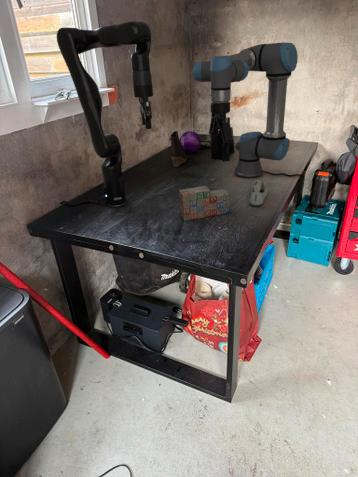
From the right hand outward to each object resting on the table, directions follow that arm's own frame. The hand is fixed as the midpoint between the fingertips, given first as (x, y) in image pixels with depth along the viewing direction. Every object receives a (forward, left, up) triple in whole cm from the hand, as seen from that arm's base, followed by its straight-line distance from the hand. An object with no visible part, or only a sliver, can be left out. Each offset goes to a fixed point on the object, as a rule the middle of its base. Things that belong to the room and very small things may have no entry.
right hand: (219, 156), depth 136 cm
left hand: (+30, +3, +13) cm, 32 cm away
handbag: (+11, -88, -25) cm, 92 cm away
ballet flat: (-16, -19, -25) cm, 35 cm away
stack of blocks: (+6, +3, -25) cm, 26 cm away
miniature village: (-9, -113, -25) cm, 116 cm away
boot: (+37, -70, -25) cm, 83 cm away
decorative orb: (+35, -92, -25) cm, 102 cm away
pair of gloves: (+26, -118, -25) cm, 123 cm away
